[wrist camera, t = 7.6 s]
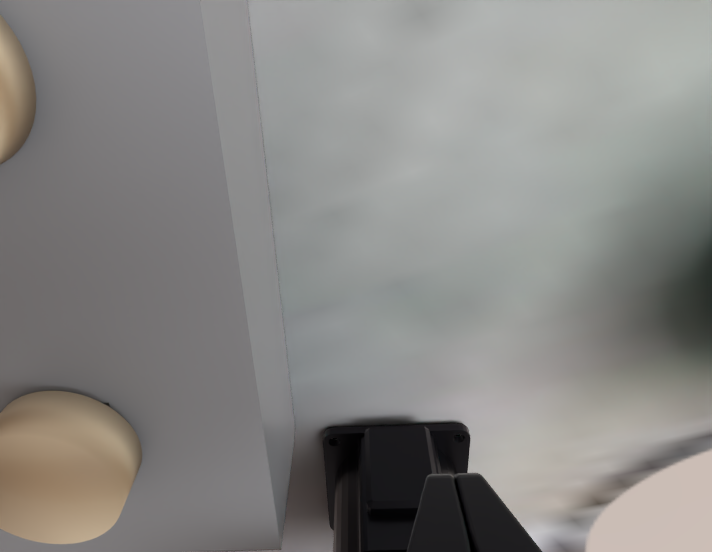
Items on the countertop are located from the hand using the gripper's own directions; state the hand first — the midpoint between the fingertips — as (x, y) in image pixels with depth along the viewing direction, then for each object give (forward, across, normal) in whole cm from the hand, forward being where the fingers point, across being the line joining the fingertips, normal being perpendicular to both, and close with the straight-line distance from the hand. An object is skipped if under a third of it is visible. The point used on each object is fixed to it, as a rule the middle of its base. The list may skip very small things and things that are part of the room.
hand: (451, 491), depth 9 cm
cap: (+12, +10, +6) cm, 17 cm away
